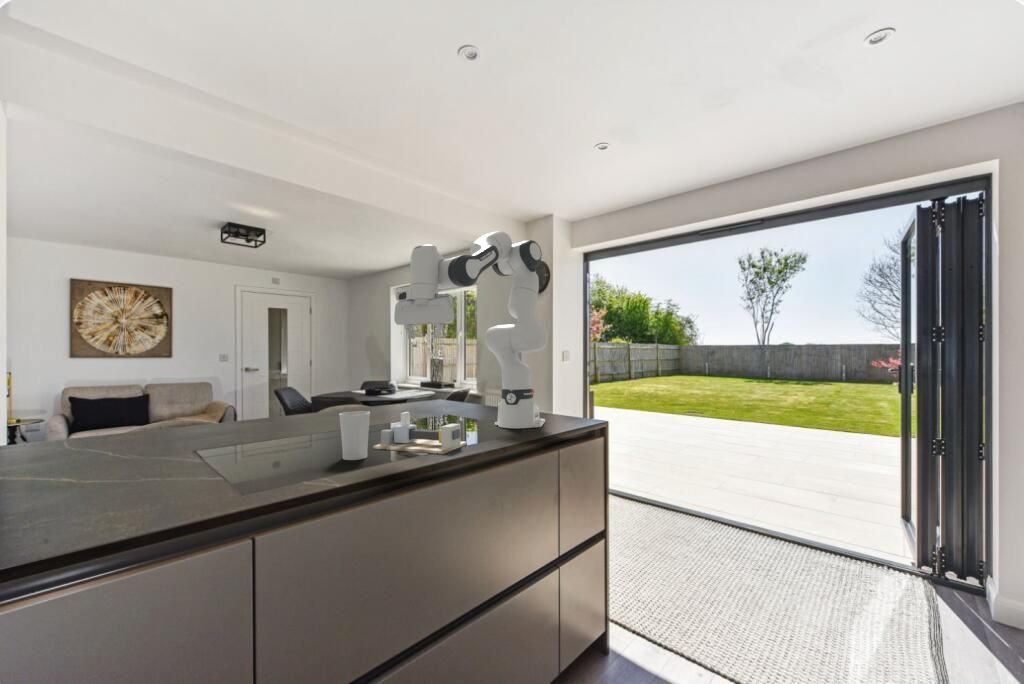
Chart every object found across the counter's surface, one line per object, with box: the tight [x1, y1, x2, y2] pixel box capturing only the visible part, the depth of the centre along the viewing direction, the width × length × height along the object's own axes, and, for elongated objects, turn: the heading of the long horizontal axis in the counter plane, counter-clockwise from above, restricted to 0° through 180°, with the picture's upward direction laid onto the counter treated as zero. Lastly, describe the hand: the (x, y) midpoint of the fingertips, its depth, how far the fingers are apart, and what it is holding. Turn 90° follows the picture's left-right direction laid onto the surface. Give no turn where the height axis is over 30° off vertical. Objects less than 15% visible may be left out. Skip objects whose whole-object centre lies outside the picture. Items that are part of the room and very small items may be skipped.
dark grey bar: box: [389, 427, 441, 443], centre depth 135 cm, size 20×4×4 cm, turn 68°
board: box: [372, 439, 468, 455], centre depth 134 cm, size 24×14×1 cm, turn 68°
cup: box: [339, 410, 371, 461], centre depth 121 cm, size 8×8×12 cm
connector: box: [440, 423, 462, 448], centre depth 130 cm, size 4×6×6 cm, turn 158°
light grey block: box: [380, 428, 396, 445], centre depth 138 cm, size 3×8×4 cm, turn 158°
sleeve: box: [393, 411, 418, 443], centre depth 137 cm, size 5×5×9 cm
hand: (423, 338), depth 140 cm, fingers open, 8 cm apart
